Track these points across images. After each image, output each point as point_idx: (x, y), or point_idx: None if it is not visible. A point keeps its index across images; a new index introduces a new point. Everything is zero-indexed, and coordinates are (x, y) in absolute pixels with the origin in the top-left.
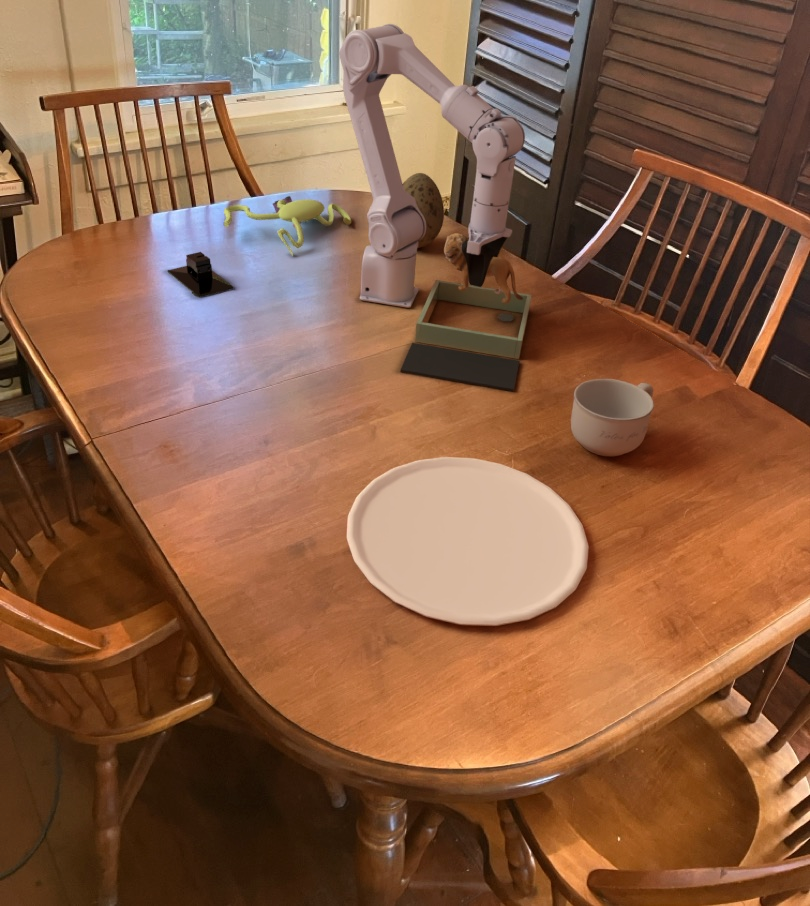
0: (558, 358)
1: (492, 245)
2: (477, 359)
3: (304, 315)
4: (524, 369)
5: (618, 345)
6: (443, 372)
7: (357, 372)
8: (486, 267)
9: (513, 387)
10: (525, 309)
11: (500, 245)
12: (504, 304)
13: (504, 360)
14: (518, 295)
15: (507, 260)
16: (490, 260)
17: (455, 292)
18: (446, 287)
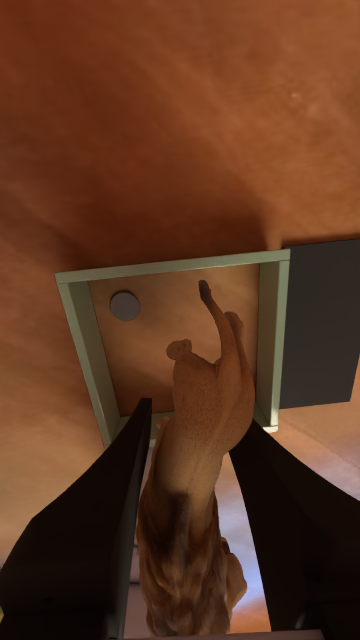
0: (239, 171)
1: (129, 516)
2: (299, 316)
3: (239, 516)
4: (299, 233)
5: (118, 5)
6: (348, 351)
7: (354, 436)
8: (293, 456)
9: None
10: (139, 272)
11: (126, 498)
12: (91, 320)
13: (291, 273)
14: (209, 295)
15: (204, 410)
16: (321, 485)
17: (109, 407)
18: (111, 426)
